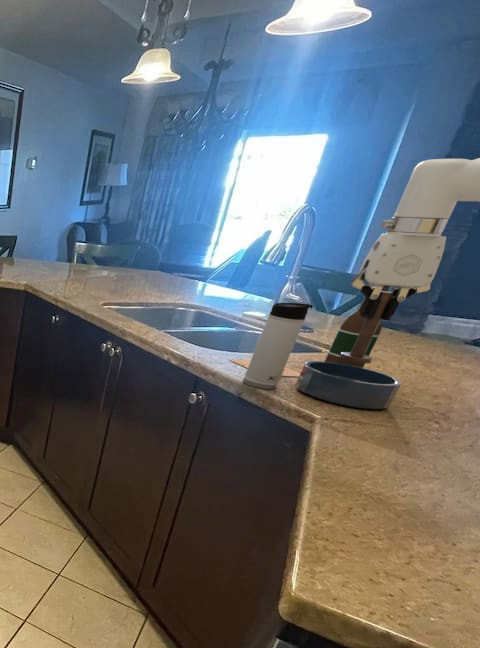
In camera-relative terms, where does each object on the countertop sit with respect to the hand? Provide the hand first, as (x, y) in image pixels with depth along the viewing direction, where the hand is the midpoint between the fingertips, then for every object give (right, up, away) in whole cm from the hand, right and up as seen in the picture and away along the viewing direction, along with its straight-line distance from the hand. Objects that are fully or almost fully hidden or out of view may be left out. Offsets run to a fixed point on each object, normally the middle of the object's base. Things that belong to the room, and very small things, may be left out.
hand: (374, 317), depth 105 cm
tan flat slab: (-2, -10, +24) cm, 26 cm away
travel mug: (-14, -14, +12) cm, 24 cm away
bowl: (-1, -17, +7) cm, 18 cm away
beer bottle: (+17, -10, +24) cm, 32 cm away
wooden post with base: (0, -9, +4) cm, 10 cm away
